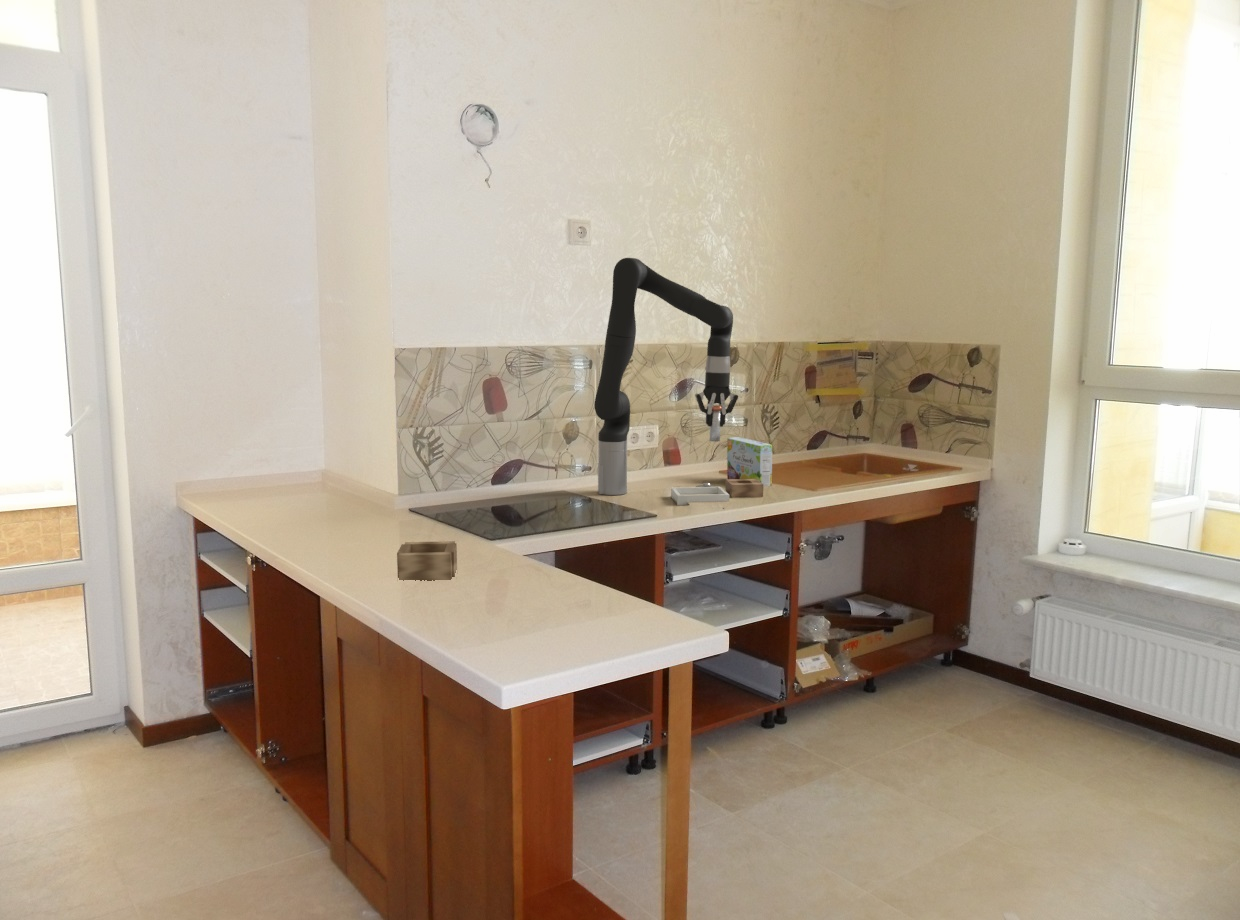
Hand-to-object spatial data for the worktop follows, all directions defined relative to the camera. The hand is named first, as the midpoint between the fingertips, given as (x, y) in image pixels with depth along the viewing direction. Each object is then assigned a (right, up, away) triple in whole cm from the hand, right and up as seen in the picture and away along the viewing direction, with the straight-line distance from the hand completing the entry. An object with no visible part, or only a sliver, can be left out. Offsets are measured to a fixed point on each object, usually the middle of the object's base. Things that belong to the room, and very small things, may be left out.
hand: (715, 426), depth 299 cm
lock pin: (0, -5, +1) cm, 5 cm away
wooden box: (+10, -22, +6) cm, 25 cm away
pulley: (-2, -22, +11) cm, 24 cm away
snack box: (+14, -19, +31) cm, 39 cm away
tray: (-5, -23, +1) cm, 24 cm away
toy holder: (-72, -37, -88) cm, 120 cm away
